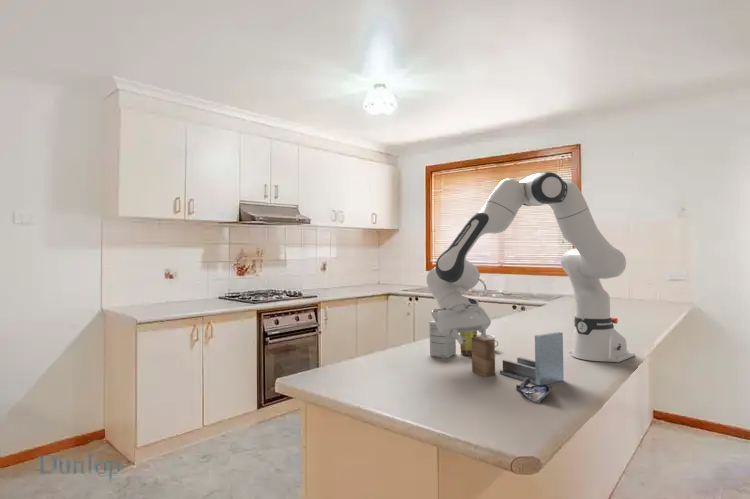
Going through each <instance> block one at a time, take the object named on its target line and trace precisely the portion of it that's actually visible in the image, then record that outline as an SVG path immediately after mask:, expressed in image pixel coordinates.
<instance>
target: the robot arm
mask: <svg viewBox="0 0 750 499" xmlns="http://www.w3.org/2000/svg"><path fill="white" fill-rule="evenodd" d="M543 205H548V206H549V207H550V208H551V210H552V212H553V215H554V217H555V220H556V221H557V224H558V228H559V230H560V232H561V234H562V237H563V238H564V240H566V241H567V242H568V243H569V244H571V245H572V247H574V248H571V249H568V250H567V251H565V252H564V253H563V254H562V255H561V259H560V266H561V267H562V268H561V269H562V270H563V271H564V273H565V274H566V275H567V276H568V277H569V278H568V279H569V280H570V283H571V285H572V289H573V293H574V301H575V302H574V304H575V316H574V320H573V322H574V326H575V329H573V332H572V339H571V340H572V341H571V343H572V344H571V348H570V349H569V353H570V354H571V356H572V357H573V358H576V359H580V360H585V361H591V362H610V363H611V362H612V363H620V362H622V361H625V360H628V359H630V358H633V357H635V352H634V351H630V350H628V348H627V340H626V338H625V337H624V336H623V335H622V334H621V333H620V332H618V331H617V330H616V329H615V328H614V327H615V325H614V324H618V322H619V319H618V318H617V317H611V301H610V300H611V298H610V297H611V296H610V294H609V293H608V292H607V291H606V290H605V289H604V287H603V285H602V283H601V280H600V279H603V280H608V279H612V278H617V277H619V276H621V275H622V274H623V273H624V272H625V269H626V267H627V261H626V257H625V256H626V255H624V253H623V252H622V251H621V250H619V249H617V248H616V247H614V246H613V245H612V244H611V243H610V242H609V241H608V240H607V239H606V238H605V236H604V235H603V234H602V233H601V231H600V229H599V228H598V227H597V224H596V223H595V220H594V218H593V215H592V213H591V211H590V208H589V206H588V204H587V201H586V199H585V197H584V195H583V193H582V192H581V190H580V189H579V187H578V186H577V184H576V183H574V182H572V181H564V180H563V179H562V177H561V176H560V175H558V174H557V173H555V172H552V171H542V172H538V173H533V174H531V175H529V176H525V177H522V178H521V179H519V180H517V179H514V178H504V179H502V180H500V182H499V183H498V184H497V185H496V186H495V187H494V189H493V191H492V192H491V193H490V194H489V196H488V198H487V200H486V201H485V203H484V204H483V206H481V209H480V210H479V211H478V212H477V213H475V214H474V215H472V216H471V217H470V218H469V220H468V221H467V222H466V223H465V225H464V226H463V227H462V229H461V230H460V232H459V233H458V234H457V236H456V237H455V239H454V240H453V241H452V243H451V244H450V246H448V248H447V249H446V250H444V252H442V253H441V254H440V255H439V256H438V258H437V260H436V262H435V266H434V268H432V269H430V270H429V272H428V273H427V276H426V284H427V288H428V289H429V291H430V293H431V295H432V297H433V298H434V299H435V300H436V302H437V306H438V307H439V308H434V309H433V310H432V311H431V317H432V318H433V321H435V324H436V327H437V329H438V331H439V333H441V334H442V335H446V334H451V336H452V337H454V338H455V339H456V341H457V342H458V343H459V345H460V344H463V343H464V342H465V339H464V337H463V336H460V333H462V332H470V331H477V332H478V333H480V334H481V336H483V337H487V338H488V336H487V335H486V334H487V329H488V328H489V327H490V326H491V324H492V323H491V322H492V320H491V319H490V317H489V315H488V314H487V312H486V310H484V308H483V307H482V306H481V305H480V302H479V300H478V299H475V298H471V297H468V296H466V295H465V296H464V295H463V294H464V293H466V292H468V291H469V290H472V289H473V288H474V287H475V286H476V285H477V284H478V282H479V280H480V270H479V268H478V266H476V265H475V264H473V263H472V262H471V261H469V260H468V259H467V255H468V254H469V253H470V251H471V249H472V248H473V247H474V245H475V244H476V242H477V241H479V239H480V237H482V236H484V235H485V234H493V235H494V234H501V233H503V232H504V231H506V230H507V229H508V228H509V227H510V225H511V224H512V222H513V221H514V219H515V217H516V215H517V213H518V212H519V210H520V209H521V207H522V206H526V207H540V206H543Z"/></svg>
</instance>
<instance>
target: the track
mask: <svg viewBox="0 0 750 499" xmlns="http://www.w3.org/2000/svg"><path fill="white" fill-rule="evenodd" d="M534 358H535V359H534V360H532V359H528V358H525V357H521V356H519V357H517V358H516V361H517V362H515V361H512V360H507V359H502V369H500V370H499V374H500V375H503V376H505V377H509V378H514V379H516V380H520V381H521V382H522V381H523V380H524V378H525V377H526V376H530V379H529V380H530V381H531V382H530V383H529V384H532V385H546V384H550V385H551V384H555V383H559V382H563V381H564V379H565V378H564V336H563V332H560V331H556V332H550V333H543V334H542V333H541V334H536V335H534Z"/></svg>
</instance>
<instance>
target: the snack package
mask: <svg viewBox="0 0 750 499" xmlns="http://www.w3.org/2000/svg"><path fill="white" fill-rule="evenodd" d="M529 379H530V376H526V377H525V378H524V380H523V381H522V380H521V383H520V384H516V386H515V388H516V390H518V391H520V392H522V394H523V395H524V396H525V397H526V398H527V399H528V400H531V399H530V397H531V396H532V397H533V395H535V394H536V395H537V396H538V395H539V396H538V398H537V399H536V400H533V402H534V403H535V404H539V403H541V401H542V400H543V399H544V398H546V396H547V395H548V394H549V393H550V392H551V390H552V388H553V386H554V385H552V386H551V384H546V385H535V384H533V385H532V386H528V385H529V384H531V383H530V382H531V381H530V380H529ZM526 392H528V393H526ZM529 392H531V393H529ZM532 397H531V398H532Z"/></svg>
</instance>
